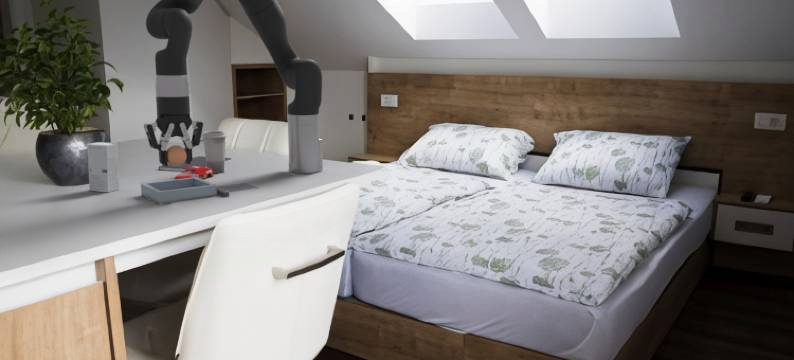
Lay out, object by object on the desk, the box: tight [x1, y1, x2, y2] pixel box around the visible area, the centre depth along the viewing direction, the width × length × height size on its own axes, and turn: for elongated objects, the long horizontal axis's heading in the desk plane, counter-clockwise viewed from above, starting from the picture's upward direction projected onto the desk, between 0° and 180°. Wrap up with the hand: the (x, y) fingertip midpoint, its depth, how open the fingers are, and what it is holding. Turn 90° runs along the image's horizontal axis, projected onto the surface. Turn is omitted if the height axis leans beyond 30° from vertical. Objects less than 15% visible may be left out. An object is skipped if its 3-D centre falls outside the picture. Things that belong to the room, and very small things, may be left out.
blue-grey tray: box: [140, 177, 218, 206], centre depth 156 cm, size 14×13×3 cm
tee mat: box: [216, 182, 259, 193], centre depth 166 cm, size 8×8×1 cm
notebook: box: [158, 155, 232, 172], centre depth 201 cm, size 13×2×21 cm
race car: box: [173, 166, 214, 180], centre depth 176 cm, size 13×5×4 cm, turn 159°
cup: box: [201, 130, 228, 175], centre depth 188 cm, size 7×7×12 cm
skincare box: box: [86, 141, 120, 193], centre depth 162 cm, size 6×4×12 cm
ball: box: [166, 145, 187, 166], centre depth 155 cm, size 5×5×5 cm
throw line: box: [216, 186, 230, 198], centre depth 162 cm, size 1×18×1 cm, turn 39°
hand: (176, 164), depth 155 cm, fingers closed on ball, 5 cm apart
